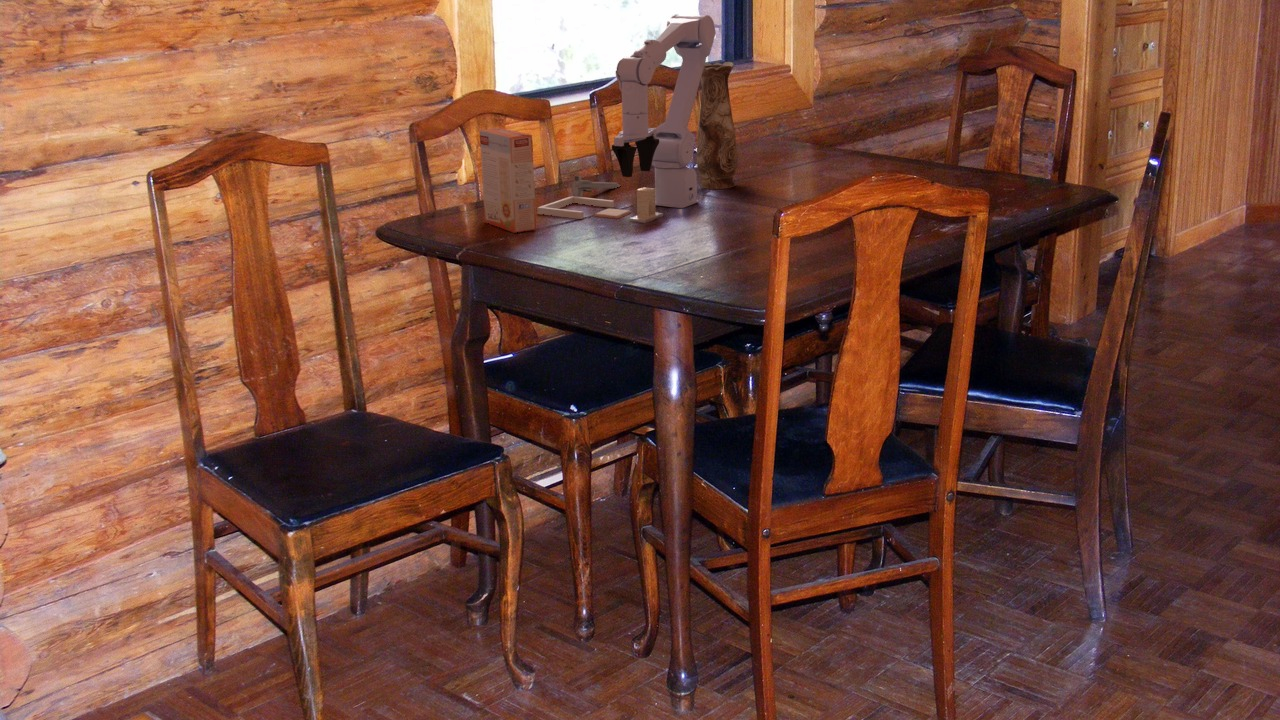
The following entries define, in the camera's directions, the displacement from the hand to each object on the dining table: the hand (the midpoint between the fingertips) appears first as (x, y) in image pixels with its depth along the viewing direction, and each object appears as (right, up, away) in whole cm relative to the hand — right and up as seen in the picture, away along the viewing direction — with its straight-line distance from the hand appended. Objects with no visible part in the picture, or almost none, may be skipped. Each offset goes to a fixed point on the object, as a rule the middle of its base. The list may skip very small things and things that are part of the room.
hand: (636, 173), depth 285 cm
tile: (-5, -9, +5) cm, 12 cm away
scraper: (+2, -10, 0) cm, 10 cm away
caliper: (-10, -1, +27) cm, 29 cm away
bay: (-14, -7, +9) cm, 18 cm away
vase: (+20, +2, +33) cm, 39 cm away
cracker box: (-28, -12, -5) cm, 31 cm away
